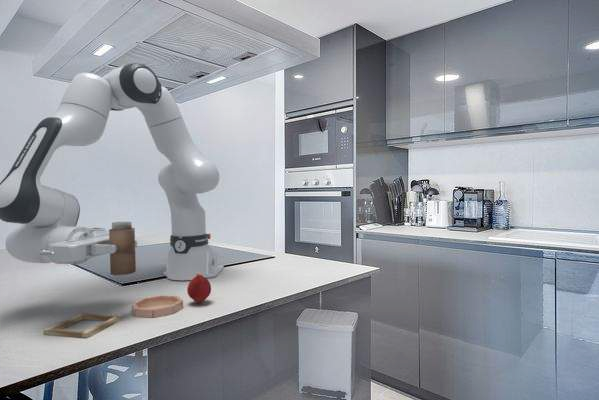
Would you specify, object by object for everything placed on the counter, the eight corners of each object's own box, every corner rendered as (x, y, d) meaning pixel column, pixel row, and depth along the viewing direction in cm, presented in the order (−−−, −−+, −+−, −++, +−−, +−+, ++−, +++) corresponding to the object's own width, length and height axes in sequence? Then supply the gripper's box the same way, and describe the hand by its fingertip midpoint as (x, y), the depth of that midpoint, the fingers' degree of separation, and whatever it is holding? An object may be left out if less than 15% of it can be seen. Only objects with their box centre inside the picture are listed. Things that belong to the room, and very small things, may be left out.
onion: (213, 299, 95) (212, 269, 94) (208, 306, 89) (207, 275, 89) (191, 300, 94) (190, 270, 94) (184, 307, 89) (184, 275, 88)
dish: (150, 301, 94) (150, 294, 94) (189, 303, 92) (189, 296, 92) (122, 315, 83) (122, 308, 83) (165, 318, 81) (165, 310, 81)
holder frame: (82, 317, 82) (82, 313, 82) (121, 320, 80) (121, 315, 80) (43, 334, 72) (43, 329, 72) (86, 338, 70) (86, 333, 70)
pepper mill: (121, 269, 85) (119, 221, 84) (140, 270, 84) (139, 221, 83) (105, 274, 80) (103, 223, 79) (125, 275, 79) (124, 223, 78)
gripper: (32, 238, 74) (91, 239, 71) (104, 227, 94) (151, 227, 91) (33, 268, 74) (92, 270, 71) (105, 250, 94) (152, 251, 91)
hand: (126, 246), depth 81 cm, fingers closed on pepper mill, 5 cm apart
